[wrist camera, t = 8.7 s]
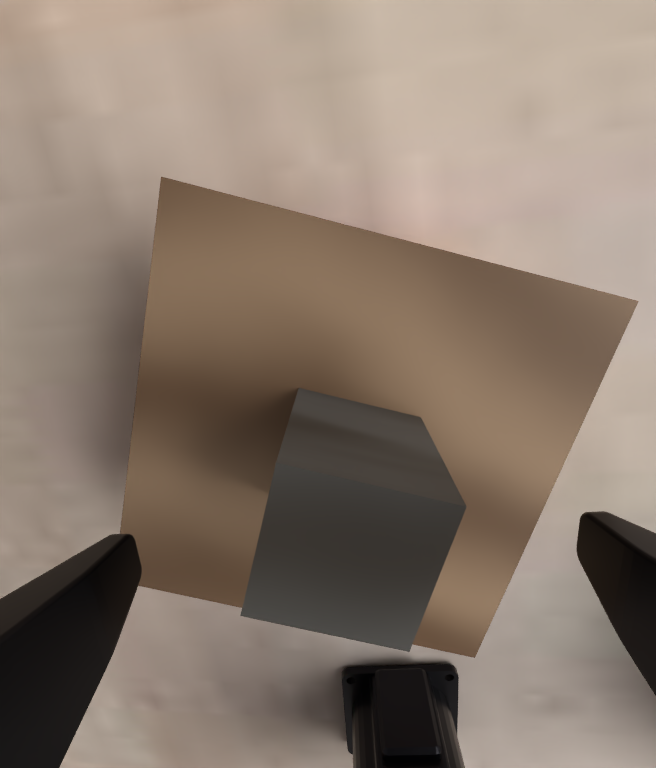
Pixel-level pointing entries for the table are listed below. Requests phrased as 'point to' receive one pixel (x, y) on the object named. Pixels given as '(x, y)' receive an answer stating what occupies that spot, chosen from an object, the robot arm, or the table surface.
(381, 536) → the lid
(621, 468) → the table surface
